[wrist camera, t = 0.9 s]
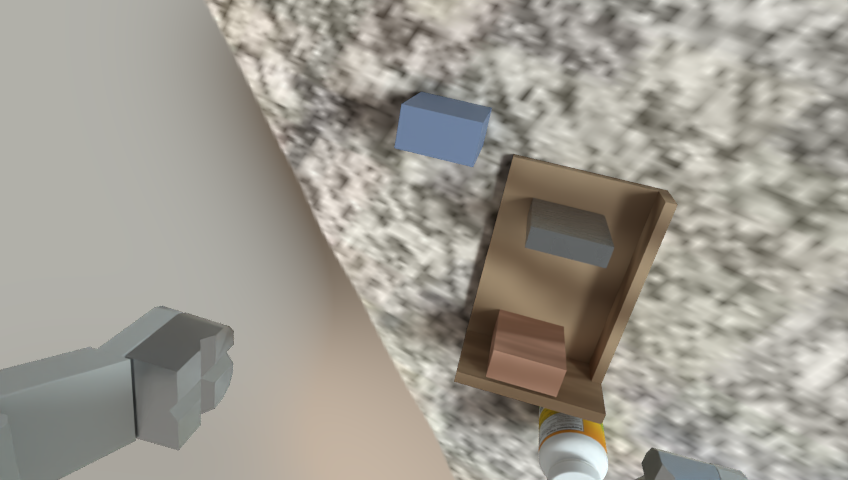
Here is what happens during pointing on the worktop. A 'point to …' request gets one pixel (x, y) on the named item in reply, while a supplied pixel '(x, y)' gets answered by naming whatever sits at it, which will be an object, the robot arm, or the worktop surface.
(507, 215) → the rack
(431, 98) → the blue block
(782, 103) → the worktop surface
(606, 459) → the supplement bottle
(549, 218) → the bookend
